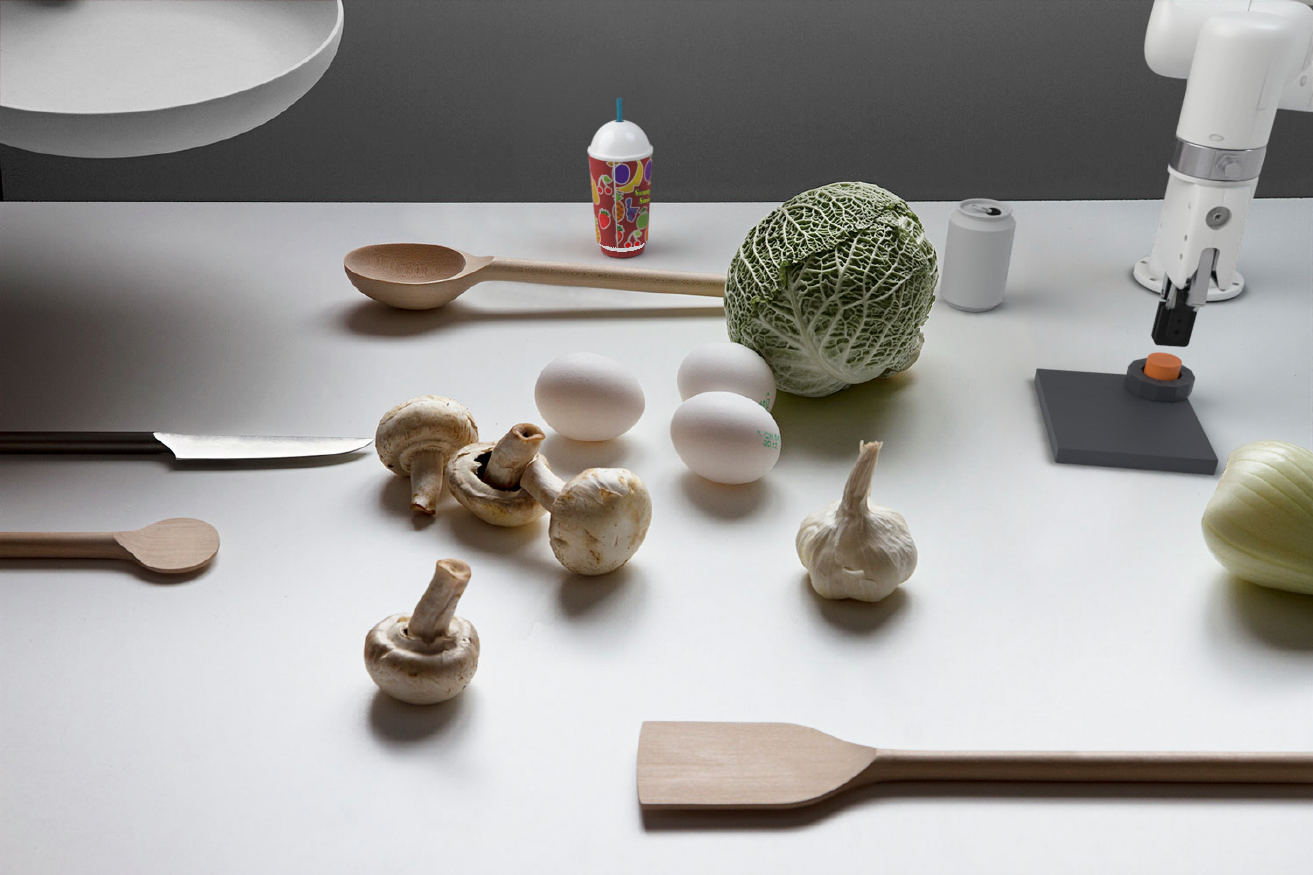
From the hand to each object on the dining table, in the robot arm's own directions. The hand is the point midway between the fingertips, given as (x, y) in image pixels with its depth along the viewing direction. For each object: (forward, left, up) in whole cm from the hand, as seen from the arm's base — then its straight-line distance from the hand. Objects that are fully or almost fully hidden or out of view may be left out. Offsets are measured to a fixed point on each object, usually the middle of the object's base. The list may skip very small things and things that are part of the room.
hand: (1169, 342), depth 111 cm
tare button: (0, 0, -4) cm, 4 cm away
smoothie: (-33, -61, -7) cm, 70 cm away
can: (-23, -16, -7) cm, 29 cm away
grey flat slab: (+5, -4, -7) cm, 10 cm away
